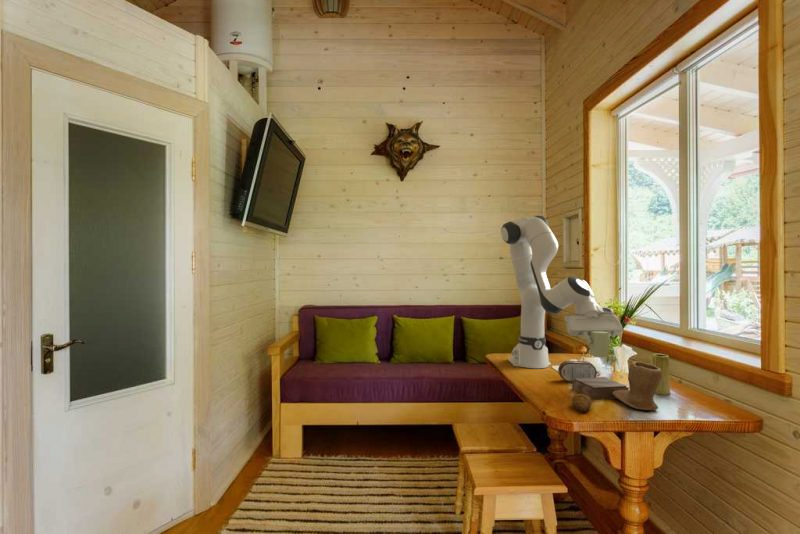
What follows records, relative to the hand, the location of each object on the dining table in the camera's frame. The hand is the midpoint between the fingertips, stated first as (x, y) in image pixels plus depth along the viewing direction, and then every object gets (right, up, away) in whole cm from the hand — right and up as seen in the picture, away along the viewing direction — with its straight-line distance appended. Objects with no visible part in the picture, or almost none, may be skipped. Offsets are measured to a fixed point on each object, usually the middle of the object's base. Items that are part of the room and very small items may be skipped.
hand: (599, 343), depth 163 cm
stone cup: (+7, -19, -14) cm, 25 cm away
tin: (-1, -19, +17) cm, 25 cm away
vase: (+24, -19, +1) cm, 30 cm away
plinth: (0, -19, +1) cm, 19 cm away
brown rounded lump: (-14, -19, -16) cm, 29 cm away
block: (0, -5, +1) cm, 5 cm away
